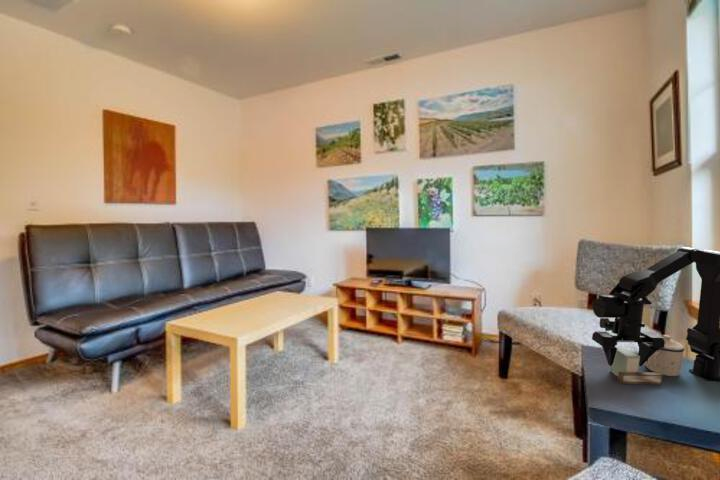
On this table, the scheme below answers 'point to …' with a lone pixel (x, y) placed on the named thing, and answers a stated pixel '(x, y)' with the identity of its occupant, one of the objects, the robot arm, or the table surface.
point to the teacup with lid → (667, 358)
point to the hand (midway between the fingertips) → (624, 365)
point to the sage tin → (625, 361)
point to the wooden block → (639, 378)
